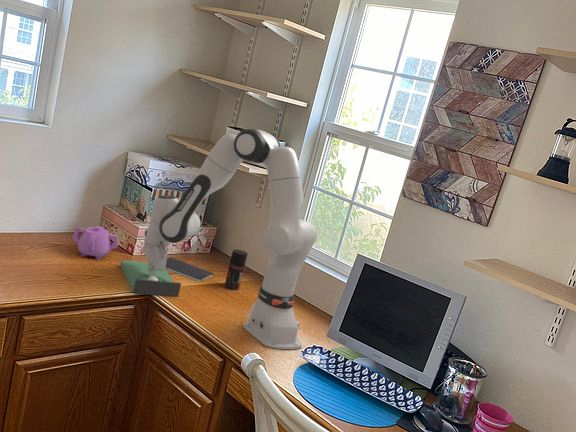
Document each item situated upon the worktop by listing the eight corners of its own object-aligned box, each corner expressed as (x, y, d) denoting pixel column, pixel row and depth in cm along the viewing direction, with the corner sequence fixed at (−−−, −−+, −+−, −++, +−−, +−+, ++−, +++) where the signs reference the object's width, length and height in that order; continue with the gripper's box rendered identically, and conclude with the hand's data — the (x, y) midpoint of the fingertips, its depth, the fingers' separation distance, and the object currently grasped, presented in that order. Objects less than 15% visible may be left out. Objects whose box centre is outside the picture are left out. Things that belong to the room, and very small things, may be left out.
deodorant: (236, 291, 235) (245, 255, 232) (222, 287, 236) (231, 251, 233) (240, 287, 240) (249, 252, 238) (226, 283, 241) (235, 248, 238)
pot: (75, 244, 242) (80, 216, 239) (118, 253, 244) (124, 226, 242) (64, 256, 224) (69, 227, 222) (110, 266, 227) (116, 237, 225)
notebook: (213, 276, 247) (169, 260, 253) (214, 273, 246) (170, 257, 253) (198, 283, 235) (153, 265, 241) (199, 279, 234) (153, 262, 241)
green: (178, 296, 214) (181, 283, 213) (133, 293, 206) (136, 280, 205) (160, 269, 237) (163, 257, 236) (120, 265, 230) (122, 253, 229)
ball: (157, 290, 216) (160, 282, 214) (146, 289, 215) (149, 282, 212) (155, 281, 219) (158, 274, 217) (145, 280, 217) (148, 273, 215)
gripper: (174, 248, 210) (166, 284, 212) (160, 230, 227) (153, 264, 230) (156, 246, 207) (148, 283, 209) (144, 228, 224) (137, 263, 227)
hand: (150, 273), depth 220 cm, fingers closed
